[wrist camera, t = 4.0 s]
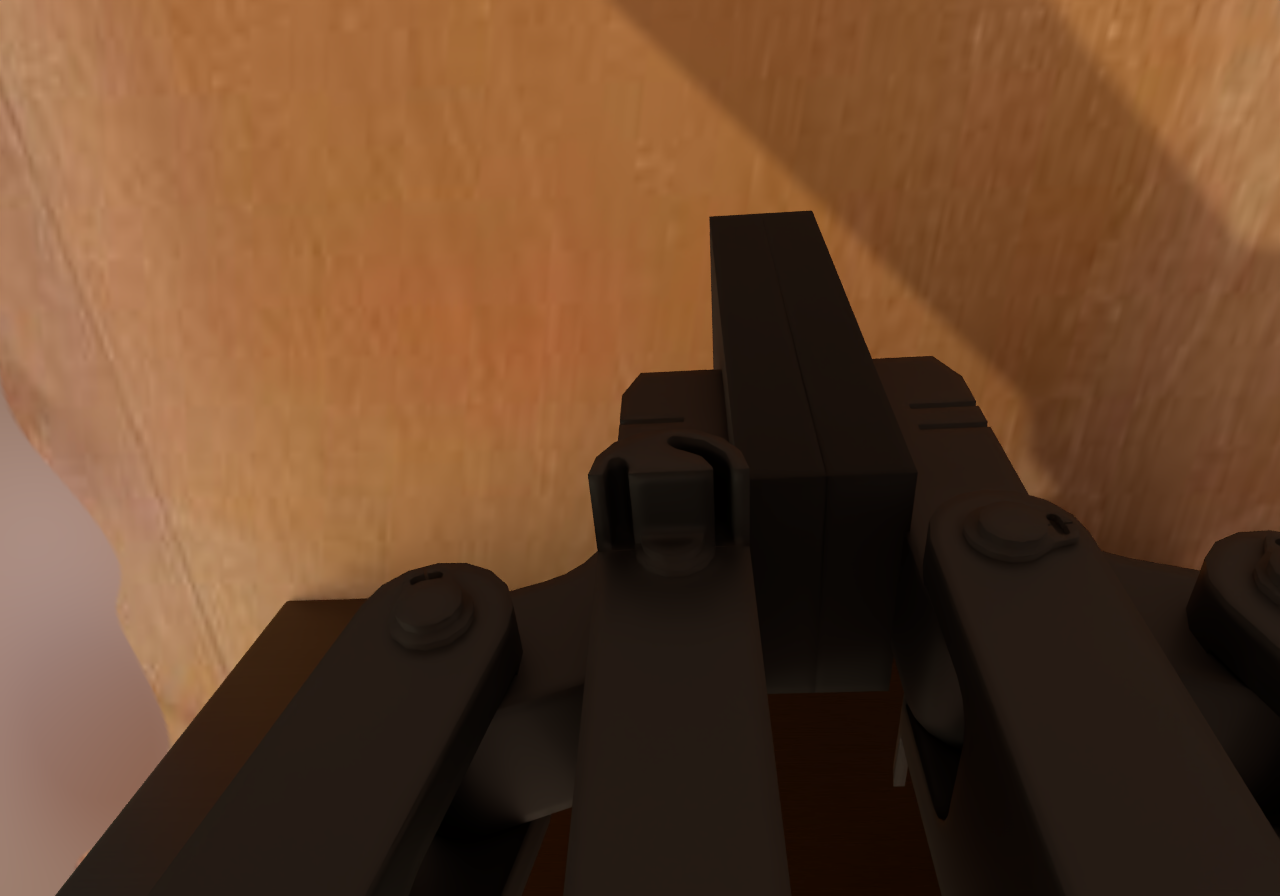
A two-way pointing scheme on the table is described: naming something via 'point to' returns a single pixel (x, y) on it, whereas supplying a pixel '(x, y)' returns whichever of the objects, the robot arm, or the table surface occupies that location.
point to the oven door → (807, 780)
